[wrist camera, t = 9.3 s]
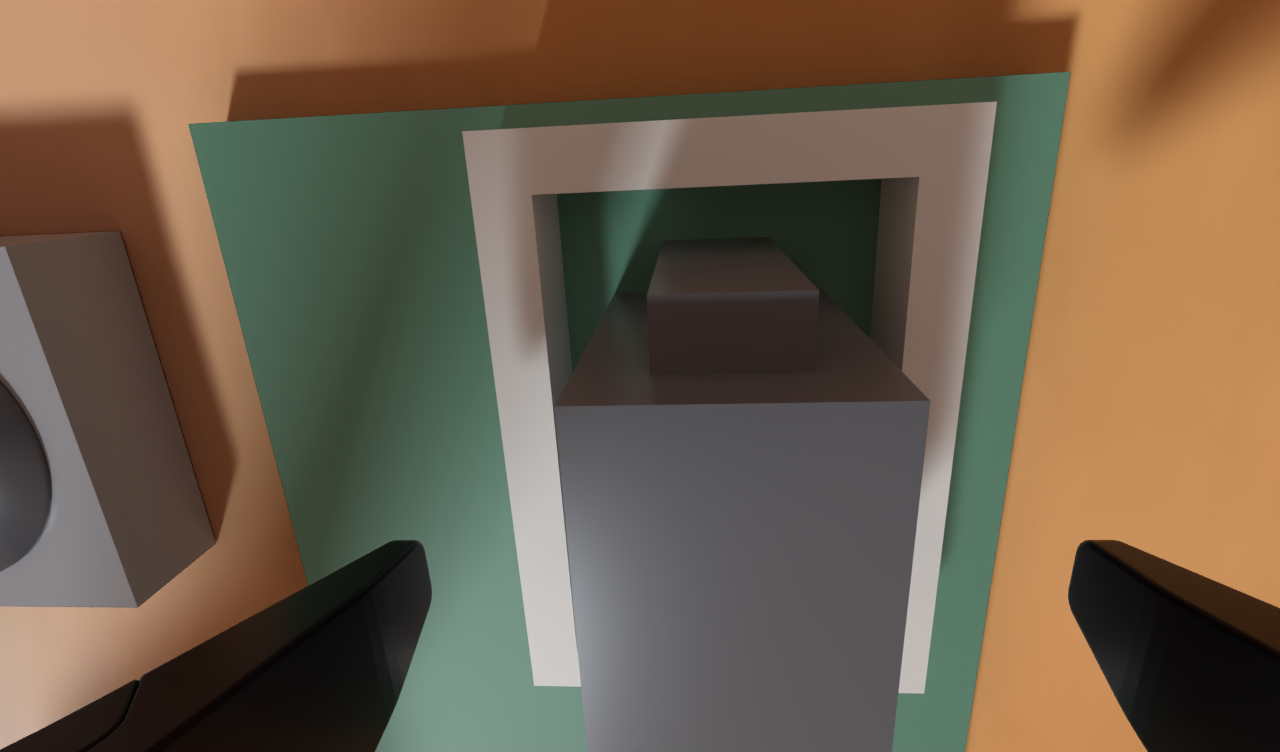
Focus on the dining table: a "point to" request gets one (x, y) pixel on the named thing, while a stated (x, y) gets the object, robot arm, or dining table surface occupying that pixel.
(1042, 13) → the dining table surface
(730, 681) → the plug
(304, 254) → the board
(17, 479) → the grey square block
